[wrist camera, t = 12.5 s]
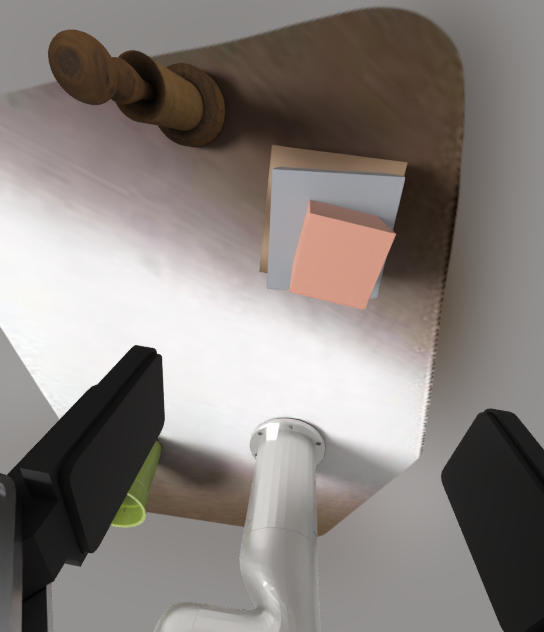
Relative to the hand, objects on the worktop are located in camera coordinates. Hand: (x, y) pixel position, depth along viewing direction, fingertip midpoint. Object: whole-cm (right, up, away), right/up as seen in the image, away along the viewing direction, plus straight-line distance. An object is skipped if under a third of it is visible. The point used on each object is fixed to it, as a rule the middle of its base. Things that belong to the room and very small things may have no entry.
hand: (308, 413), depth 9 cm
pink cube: (+4, +9, +16) cm, 19 cm away
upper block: (+4, +12, +21) cm, 24 cm away
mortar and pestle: (-9, +24, +21) cm, 33 cm away
